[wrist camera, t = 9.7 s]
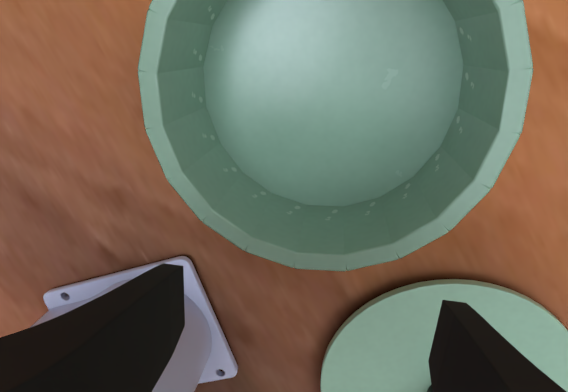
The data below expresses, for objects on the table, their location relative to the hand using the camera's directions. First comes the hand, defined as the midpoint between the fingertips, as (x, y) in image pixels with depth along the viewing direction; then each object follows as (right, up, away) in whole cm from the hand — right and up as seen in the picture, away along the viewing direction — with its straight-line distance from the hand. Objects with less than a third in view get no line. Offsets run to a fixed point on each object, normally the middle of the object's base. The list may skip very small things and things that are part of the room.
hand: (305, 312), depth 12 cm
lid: (+8, -7, +11) cm, 15 cm away
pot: (+1, +8, +7) cm, 11 cm away
